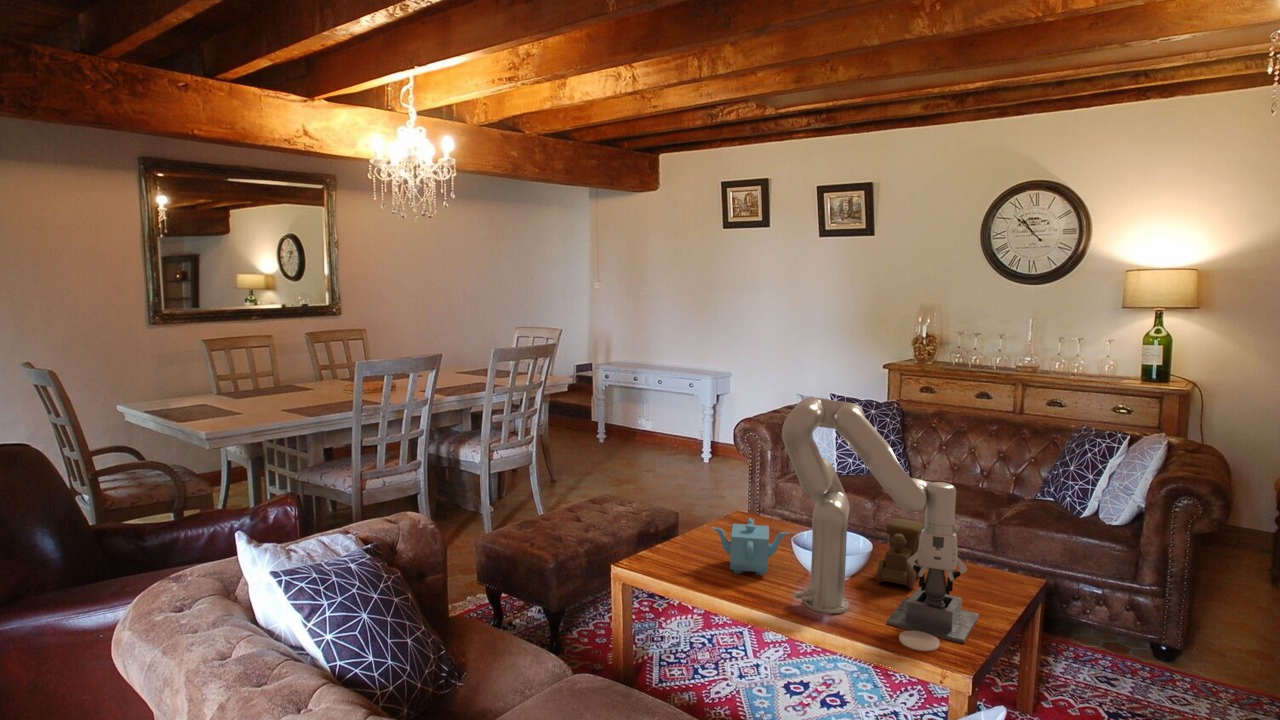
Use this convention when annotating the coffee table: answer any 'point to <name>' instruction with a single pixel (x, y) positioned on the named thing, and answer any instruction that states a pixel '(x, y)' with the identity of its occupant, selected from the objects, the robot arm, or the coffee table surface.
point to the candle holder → (936, 580)
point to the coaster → (919, 640)
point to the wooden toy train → (900, 552)
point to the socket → (934, 617)
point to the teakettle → (749, 547)
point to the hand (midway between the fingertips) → (935, 590)
